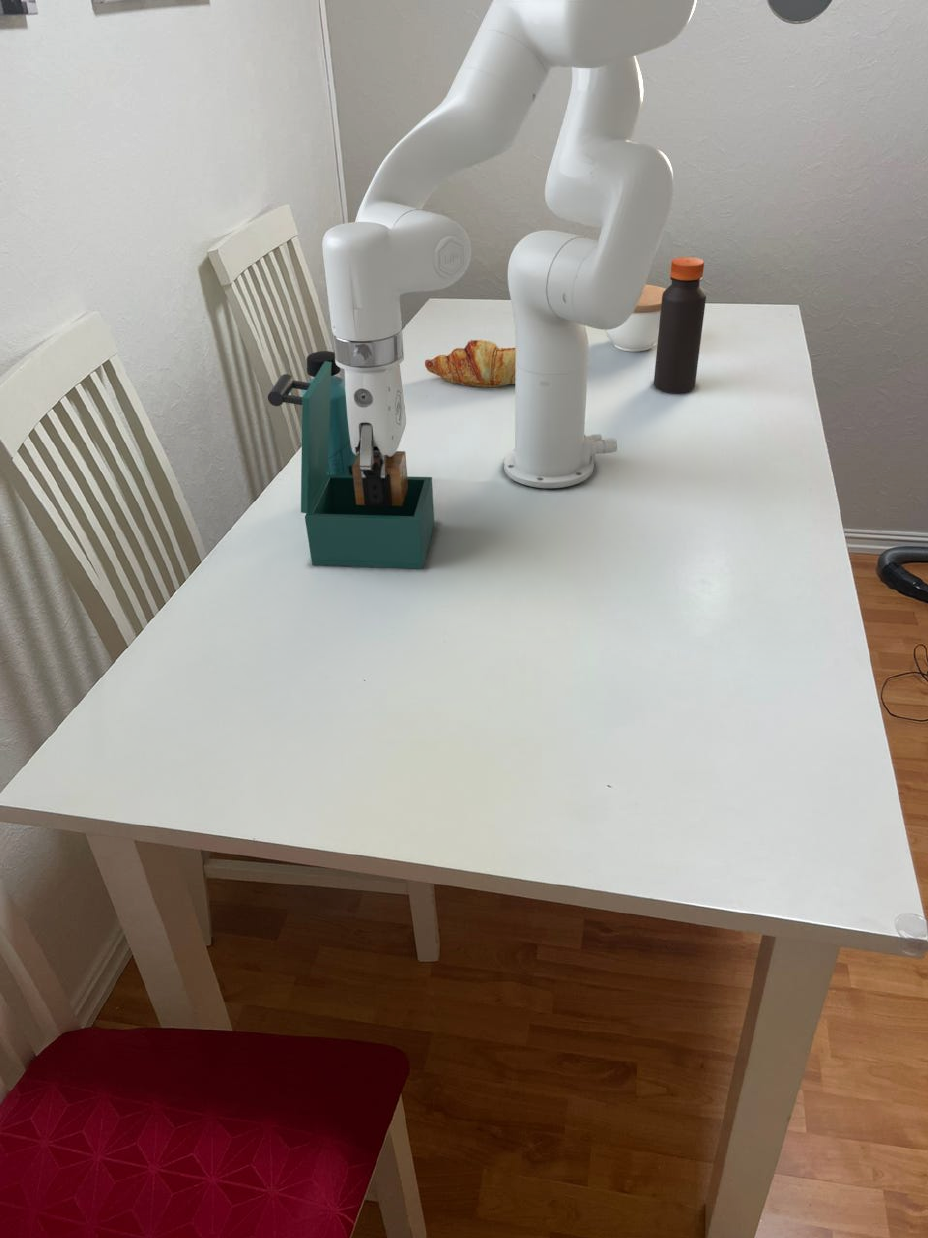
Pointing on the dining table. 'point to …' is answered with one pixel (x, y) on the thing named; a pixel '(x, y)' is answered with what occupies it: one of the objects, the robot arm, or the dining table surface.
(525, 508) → the dining table surface
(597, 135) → the robot arm
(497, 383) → the croissant
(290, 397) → the lunchbox lid
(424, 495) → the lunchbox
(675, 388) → the vinegar
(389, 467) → the block
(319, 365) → the beverage bottle
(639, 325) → the lidded bowl
